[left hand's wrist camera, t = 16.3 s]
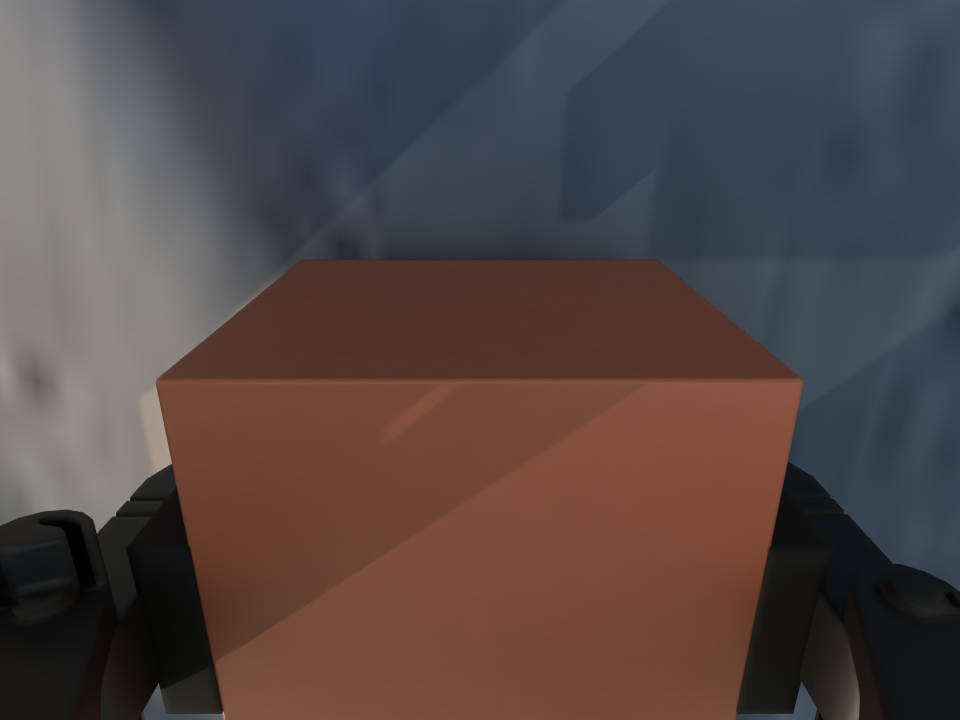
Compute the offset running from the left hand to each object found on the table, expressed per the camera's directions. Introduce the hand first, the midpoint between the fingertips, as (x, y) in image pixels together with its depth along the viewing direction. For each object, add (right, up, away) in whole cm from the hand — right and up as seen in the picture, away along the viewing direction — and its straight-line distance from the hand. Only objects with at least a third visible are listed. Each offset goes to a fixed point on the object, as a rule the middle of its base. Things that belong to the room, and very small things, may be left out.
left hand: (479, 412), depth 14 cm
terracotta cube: (0, 0, 0) cm, 0 cm away
